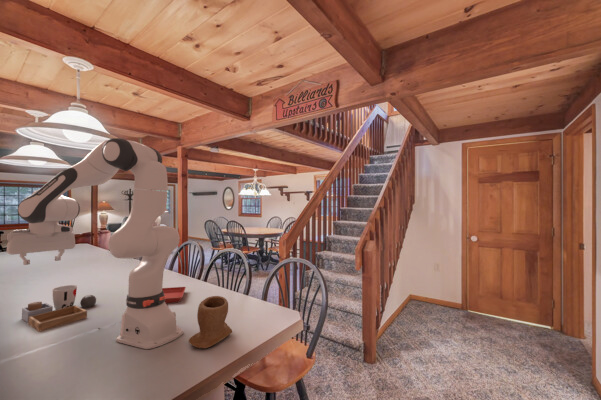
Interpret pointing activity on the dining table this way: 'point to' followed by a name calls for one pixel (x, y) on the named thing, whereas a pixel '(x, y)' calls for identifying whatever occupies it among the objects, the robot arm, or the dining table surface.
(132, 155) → the robot arm
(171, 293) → the plant saucer
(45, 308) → the pen pot
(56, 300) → the cup
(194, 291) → the dining table surface
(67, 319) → the oak tray
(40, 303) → the walnut peg
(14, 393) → the dining table surface
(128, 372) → the dining table surface
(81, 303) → the dark gray ball
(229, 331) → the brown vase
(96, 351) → the dining table surface
